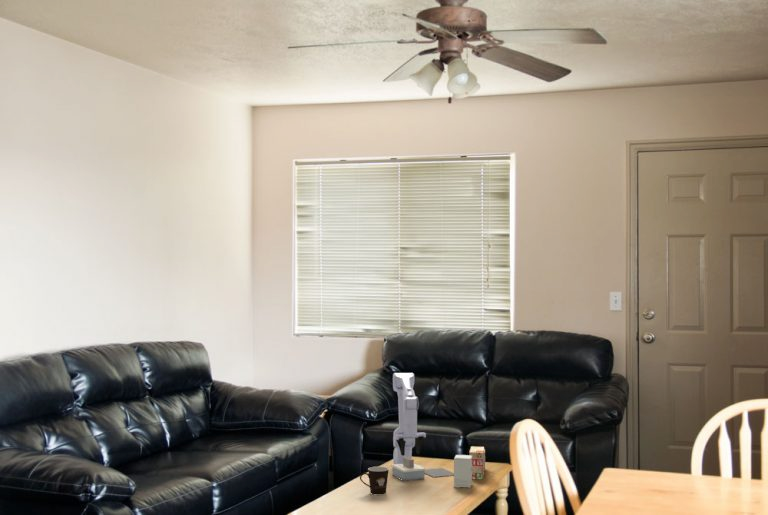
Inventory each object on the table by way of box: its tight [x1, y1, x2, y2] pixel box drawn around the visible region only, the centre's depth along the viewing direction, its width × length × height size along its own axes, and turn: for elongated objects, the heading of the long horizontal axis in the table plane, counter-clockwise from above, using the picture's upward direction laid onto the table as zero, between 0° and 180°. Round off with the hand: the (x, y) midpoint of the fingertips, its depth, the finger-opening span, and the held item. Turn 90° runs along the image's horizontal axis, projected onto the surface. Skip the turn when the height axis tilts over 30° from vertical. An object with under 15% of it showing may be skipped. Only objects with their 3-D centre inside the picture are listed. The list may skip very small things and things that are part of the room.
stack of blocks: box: [469, 445, 486, 479], centre depth 408 cm, size 21×6×12 cm, turn 171°
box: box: [392, 467, 425, 482], centre depth 400 cm, size 12×10×4 cm
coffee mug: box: [359, 466, 390, 495], centre depth 372 cm, size 12×9×10 cm
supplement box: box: [453, 454, 473, 488], centre depth 385 cm, size 7×7×13 cm
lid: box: [391, 457, 426, 472], centre depth 400 cm, size 13×11×5 cm
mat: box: [424, 467, 454, 478], centre depth 408 cm, size 14×12×1 cm
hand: (410, 454), depth 400 cm, fingers open, 7 cm apart
